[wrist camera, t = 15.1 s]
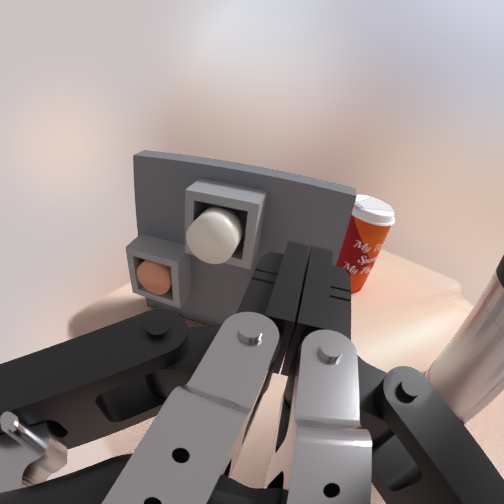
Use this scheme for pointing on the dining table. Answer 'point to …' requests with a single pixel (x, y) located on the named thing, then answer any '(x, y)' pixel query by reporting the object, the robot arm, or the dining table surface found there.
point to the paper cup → (364, 238)
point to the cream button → (215, 235)
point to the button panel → (249, 212)
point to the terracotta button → (154, 277)
